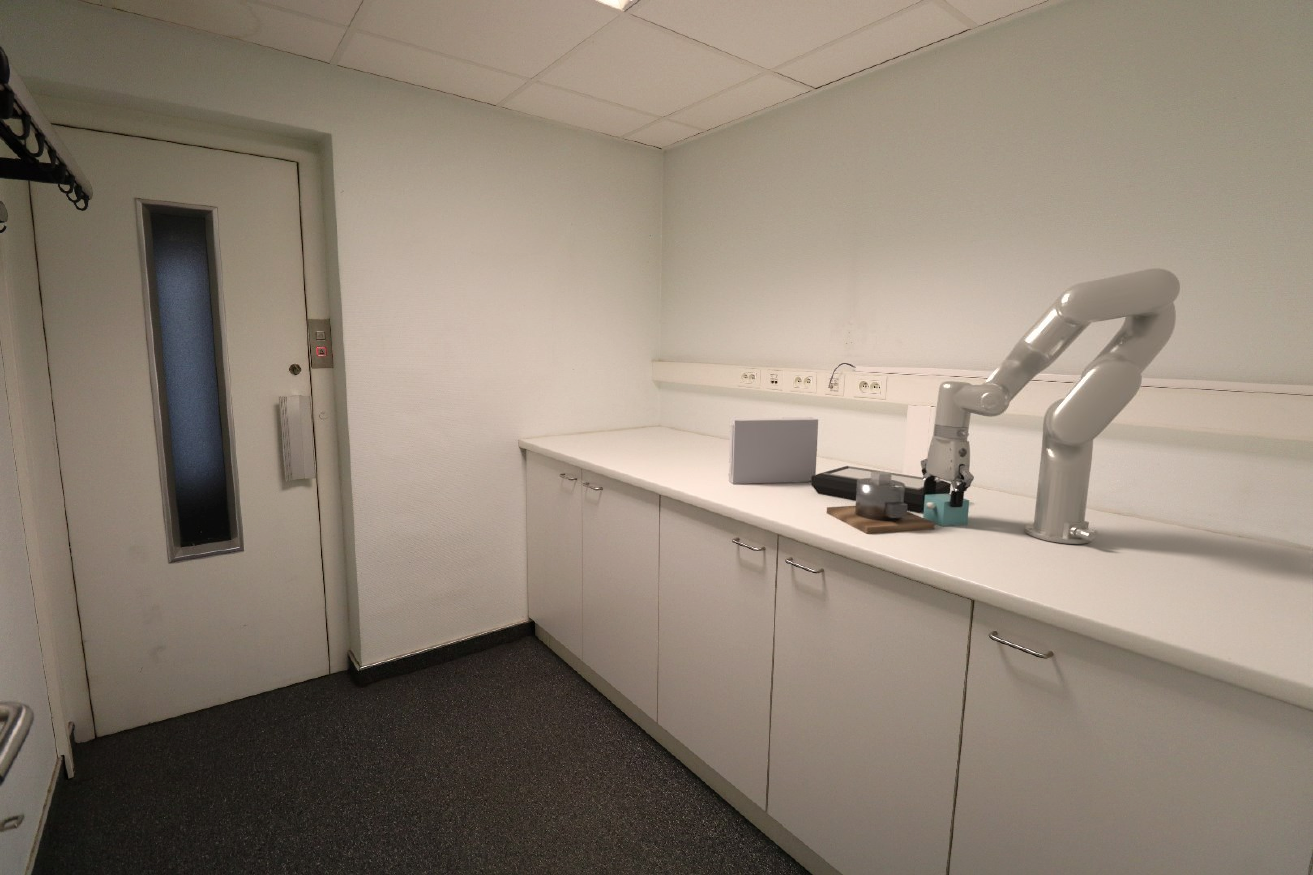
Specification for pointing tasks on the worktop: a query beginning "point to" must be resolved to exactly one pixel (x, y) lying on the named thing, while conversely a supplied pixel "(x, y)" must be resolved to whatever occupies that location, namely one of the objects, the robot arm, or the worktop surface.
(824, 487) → the electronic device
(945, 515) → the block
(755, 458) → the upright gray panel box
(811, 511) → the worktop surface
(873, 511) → the motor
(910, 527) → the mounting board
